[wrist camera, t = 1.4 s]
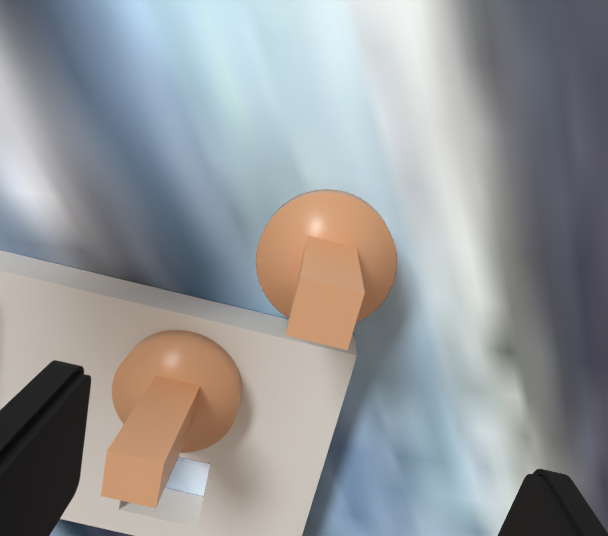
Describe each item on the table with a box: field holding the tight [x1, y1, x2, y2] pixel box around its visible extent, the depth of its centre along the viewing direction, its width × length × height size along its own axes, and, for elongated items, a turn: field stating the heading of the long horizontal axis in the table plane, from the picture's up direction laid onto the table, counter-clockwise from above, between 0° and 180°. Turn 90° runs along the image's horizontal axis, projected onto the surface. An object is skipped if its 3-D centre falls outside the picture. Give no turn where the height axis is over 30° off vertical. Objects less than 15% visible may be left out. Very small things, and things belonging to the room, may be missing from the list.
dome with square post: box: [256, 190, 397, 350], centre depth 23 cm, size 7×7×10 cm
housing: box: [0, 250, 357, 536], centre depth 27 cm, size 22×16×10 cm
